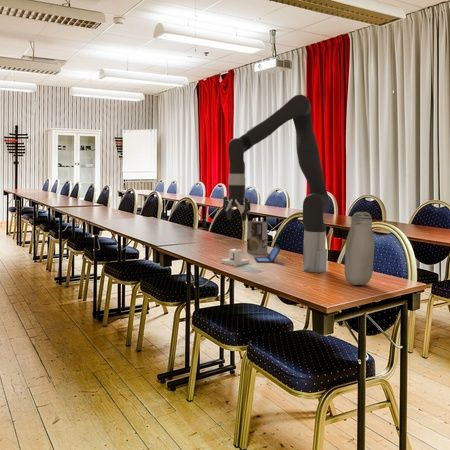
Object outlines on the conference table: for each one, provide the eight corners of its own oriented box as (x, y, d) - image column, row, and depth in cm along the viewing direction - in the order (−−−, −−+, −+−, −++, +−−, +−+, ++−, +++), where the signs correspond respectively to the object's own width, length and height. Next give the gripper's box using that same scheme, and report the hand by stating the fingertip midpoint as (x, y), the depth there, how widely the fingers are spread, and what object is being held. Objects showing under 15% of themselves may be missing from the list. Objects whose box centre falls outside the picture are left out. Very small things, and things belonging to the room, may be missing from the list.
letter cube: (241, 263, 220) (241, 249, 220) (235, 264, 217) (235, 250, 216) (234, 261, 223) (235, 248, 222) (228, 263, 220) (229, 249, 219)
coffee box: (267, 252, 251) (268, 221, 249) (261, 254, 246) (262, 222, 244) (252, 250, 256) (253, 220, 254) (246, 252, 251) (247, 221, 249)
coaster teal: (254, 269, 210) (254, 267, 210) (245, 271, 206) (245, 270, 206) (243, 267, 214) (243, 265, 214) (234, 269, 210) (234, 267, 210)
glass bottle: (360, 289, 178) (364, 213, 175) (338, 284, 186) (342, 211, 183) (377, 286, 184) (381, 212, 181) (355, 280, 192) (359, 210, 189)
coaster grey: (264, 272, 204) (264, 271, 204) (255, 274, 200) (255, 273, 200) (253, 270, 208) (253, 269, 208) (244, 272, 204) (244, 271, 204)
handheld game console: (253, 259, 234) (253, 244, 233) (275, 259, 235) (276, 244, 234) (256, 264, 221) (257, 248, 221) (280, 264, 222) (280, 248, 221)
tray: (248, 264, 221) (249, 260, 220) (235, 267, 214) (235, 262, 214) (234, 261, 227) (234, 257, 226) (220, 264, 220) (220, 259, 220)
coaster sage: (264, 267, 214) (264, 266, 214) (256, 269, 210) (256, 268, 209) (254, 265, 218) (254, 264, 218) (245, 267, 214) (245, 266, 213)
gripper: (254, 184, 214) (253, 221, 216) (230, 183, 224) (229, 218, 225) (243, 184, 209) (243, 222, 210) (219, 183, 218) (218, 219, 220)
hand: (236, 220), depth 218 cm, fingers open, 8 cm apart
